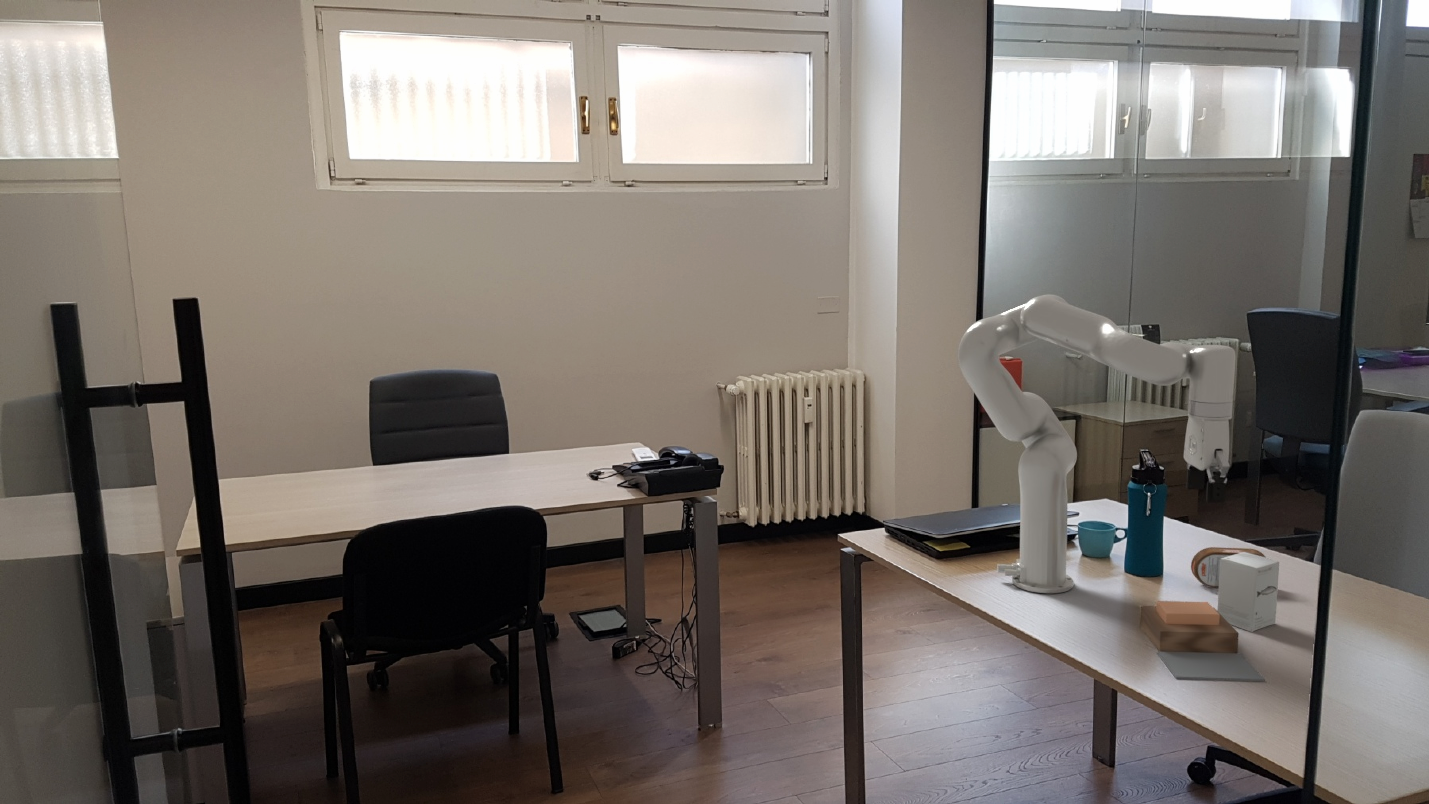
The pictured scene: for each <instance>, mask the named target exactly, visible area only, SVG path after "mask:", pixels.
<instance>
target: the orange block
mask: <svg viewBox="0 0 1429 804" xmlns="http://www.w3.org/2000/svg"><path fill="white" fill-rule="evenodd" d="M1155 606H1156V612H1157V613H1158V614H1159V616H1160V617H1161V618H1162V619H1163V621H1164V622H1165V623H1166V624H1198V625H1219V617H1220V614H1219V613H1218V612H1217V611H1216V610H1217V609H1216V608H1215V607H1214V608H1215V609H1216V610H1215V609H1214V608H1213V606H1212V605H1211V604H1210V603H1209V602H1208V601H1179V600H1177V601H1175V600H1174V601H1173V600H1170V601H1169V600H1165V601H1164V600H1156V602H1155Z"/></svg>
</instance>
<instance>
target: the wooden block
mask: <svg viewBox="0 0 1429 804" xmlns="http://www.w3.org/2000/svg"><path fill="white" fill-rule="evenodd" d="M1212 607H1213V606H1212ZM1213 608H1214V609H1215V610H1216V611H1217V610H1218V609H1216V608H1215V607H1213ZM1217 612H1218V611H1217ZM1218 613H1219V612H1218ZM1219 614H1220V613H1219ZM1139 618H1140V620H1139V621H1140V624H1139V626H1140V627H1141V629H1142V630H1143V632H1144V634H1146V636H1147V637H1148V639H1149V640H1150V641H1151V643H1152V644H1153V646H1154V647H1155V648H1156V650H1157V652H1158V651H1162V652H1199V653H1236V654H1239V653H1238V652H1239V650H1238V649H1239V632H1238V631H1237V630H1236V629H1235V628H1234V626H1233V625H1230V624H1229V623H1228V622H1227V621H1226V620H1225V619H1224V618H1223V616H1222V615H1221V614H1220V617H1219V625H1198V624H1166V623H1165V622H1164V621H1163V619H1162V618H1161V617H1160V616H1159V614H1158V613H1157V612H1156V605H1153V606H1152V605H1141V606H1140V617H1139Z"/></svg>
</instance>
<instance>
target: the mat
mask: <svg viewBox="0 0 1429 804" xmlns="http://www.w3.org/2000/svg"><path fill="white" fill-rule="evenodd" d="M1157 655H1158V656H1159V658H1160V659H1161V661H1162V662H1163V663H1164V664H1165V666H1166V667H1167V669H1168V671H1169V672H1170V673H1171V675H1172V676H1173V678H1174V679H1175V680H1199V681H1200V680H1207V681H1208V680H1209V681H1235V682H1236V681H1237V682H1265V683H1266V678H1265V677H1264V676H1263V675H1262V674H1261V673H1260V672H1259V671H1258V669H1256V667H1255V666H1254V665H1253V664H1252V663H1251V662H1250V661H1249V660H1248V658H1247V657H1245V655H1244V654H1242V653H1237V654H1236V653H1199V652H1162V651H1158V650H1157Z"/></svg>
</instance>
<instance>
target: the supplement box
mask: <svg viewBox="0 0 1429 804" xmlns="http://www.w3.org/2000/svg"><path fill="white" fill-rule="evenodd" d="M1265 557H1266V556H1265ZM1265 557H1262V556H1258V555H1254V554H1250V553H1246V552H1242V553H1238V554H1235V555H1231V556H1228V557H1224V558H1221V559H1220V576H1219V588H1218V596H1217V609H1216V610H1217V611H1218V612H1219V613H1220V614H1221V615H1222V616H1223V618H1224V619H1225V620H1226V621H1227V622H1228V623H1229V624H1230V625H1231V626H1232V627H1235V628H1239V629H1242V630H1244V631H1248V632H1251V633H1253V632H1254V631H1257V630H1260V629H1263V628H1265V627H1269V626H1271V625H1275V624H1276V616H1277V602H1278V588H1279V573H1280V572H1279V571H1280V561H1279V560H1275V559H1272V558H1268V557H1266V558H1265Z"/></svg>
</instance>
